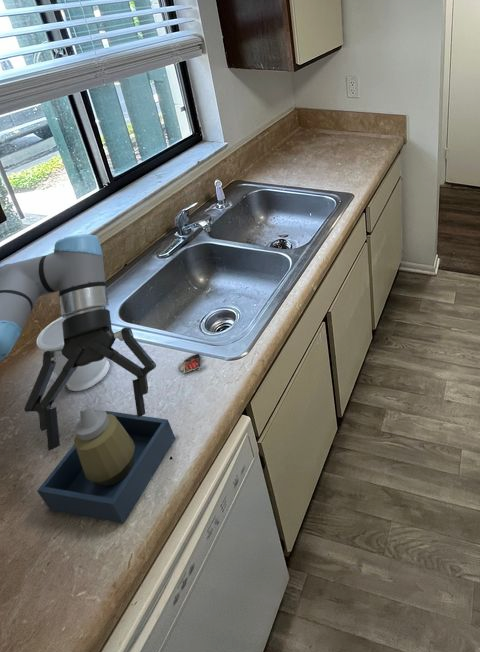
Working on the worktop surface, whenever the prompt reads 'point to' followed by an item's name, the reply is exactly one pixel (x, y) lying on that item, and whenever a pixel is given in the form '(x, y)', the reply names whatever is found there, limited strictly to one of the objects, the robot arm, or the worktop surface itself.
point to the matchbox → (191, 363)
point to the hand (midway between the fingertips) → (99, 431)
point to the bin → (119, 499)
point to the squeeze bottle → (103, 447)
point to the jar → (82, 375)
